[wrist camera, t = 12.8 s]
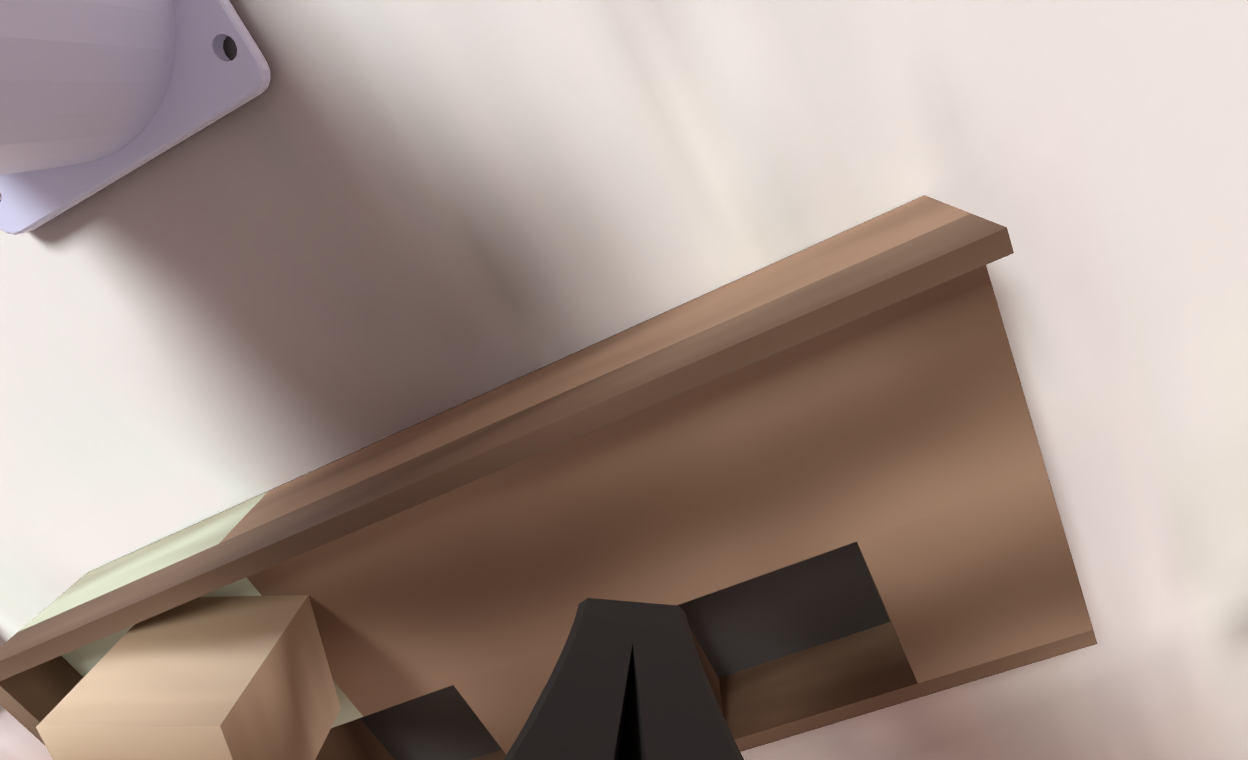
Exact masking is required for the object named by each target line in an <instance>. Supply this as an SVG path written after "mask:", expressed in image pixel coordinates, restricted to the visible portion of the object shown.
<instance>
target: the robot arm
mask: <svg viewBox="0 0 1248 760" xmlns="http://www.w3.org/2000/svg"><path fill="white" fill-rule="evenodd" d="M227 36H230V37H231V38H232V39H233V40H234V41H235V44H236V47H237V56H236V57H235V58H234V59H233V60H230V59H229V58H228V57H227V56H226V55H225V52H224V50H223V41H224V40H225V39H226V37H227ZM270 80H271V76H270V68H269V66H268V63H267V61H266V59H265V58H264V56H263V54H262V53H261V51H260V49H259V48H258V46H257V45H256V43H255V41H254V40H253V38H252V37H251V35H250V33H249V32H248V30H247V28H246V27H245V25H244V24H243V22H242V20H241V19H240V17H239V16H238V14H237V12H236V11H235V9H234V7H233V6H232V4H231V3H230V1H229V0H0V194H1V200H0V230H2V231H4V232H6V233H8V234H14V235H17V234H21V233H26V232H29V231H33V230H35V229H36V228H38V227H40V226H41V225H43V224H45V223H46V222H48V221H50V220H51V219H53V218H55V217H56V216H58V215H60V214H61V213H63V212H65V211H66V210H68V209H70V208H71V207H73V206H75V205H76V204H78V203H80V202H82V201H83V200H85V199H87V198H88V197H90V196H92V195H93V194H95V193H97V192H98V191H100V190H102V189H103V188H105V187H107V186H108V185H110V184H112V183H113V182H115V181H117V180H118V179H120V178H122V177H123V176H125V175H127V174H128V173H130V172H132V171H133V170H135V169H137V168H138V167H140V166H142V165H143V164H145V163H147V162H148V161H150V160H152V159H153V158H155V157H157V156H158V155H160V154H162V153H163V152H165V151H167V150H168V149H170V148H172V147H173V146H175V145H177V144H178V143H180V142H182V141H183V140H185V139H187V138H188V137H190V136H192V135H194V134H195V133H197V132H199V131H200V130H202V129H204V128H205V127H207V126H209V125H210V124H212V123H214V122H215V121H217V120H219V119H220V118H222V117H224V116H225V115H227V114H229V113H230V112H232V111H234V110H235V109H237V108H239V107H240V106H242V105H244V104H245V103H247V102H249V101H250V100H252V99H254V98H255V97H257V96H259V95H260V94H262V93H263V92H264V91H265V90H266V89H267V88H268V86H269V83H270ZM504 760H744V759H743V757H742V755H741V753H740V751H739V749H738V746H737V744H736V742H735V740H734V738H733V736H732V733H731V731H730V729H729V727H728V725H727V723H726V721H725V718H724V716H723V714H722V712H721V710H720V707H719V705H718V703H717V700H716V698H715V696H714V693H713V691H712V688H711V686H710V683H709V681H708V678H707V676H706V673H705V671H704V668H703V666H702V663H701V660H700V658H699V655H698V652H697V649H696V646H695V643H694V641H693V637H692V634H691V631H690V628H689V624H688V620H687V616H686V613H685V612H684V611H683V610H682V609H681V608H680V606H678V605H666V604H654V603H643V602H631V601H619V600H607V599H595V598H587V599H585V600H584V601H582V602H581V603H579V605H578V609H577V612H576V616H575V619H574V622H573V625H572V628H571V630H570V633H569V636H568V638H567V641H566V643H565V645H564V648H563V650H562V652H561V654H560V657H559V659H558V661H557V663H556V665H555V667H554V669H553V671H552V674H551V676H550V678H549V680H548V682H547V684H546V685H545V687H544V689H543V691H542V693H541V695H540V697H539V698H538V700H537V702H536V704H535V706H534V708H533V710H532V712H531V713H530V715H529V717H528V719H527V721H526V723H525V725H524V726H523V728H522V730H521V732H520V733H519V735H518V737H517V739H516V740H515V742H514V743H513V745H512V747H511V748H510V750H509V752H508V753H507V755H506V756H505V758H504Z"/></svg>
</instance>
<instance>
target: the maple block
mask: <svg viewBox="0 0 1248 760" xmlns="http://www.w3.org/2000/svg"><path fill="white" fill-rule="evenodd" d="M340 709H341V706H340V703H339V699H338V696H337V693H336V689H335V686H334V682H333V679H332V675H331V672H330V668H329V665H328V661H327V658H326V654H325V651H324V647H323V644H322V640H321V637H320V633H319V630H318V626H317V623H316V619H315V616H314V613H313V609H312V606H311V602H310V599H309V595H281V596H224V597H198V598H196V599H194V600H191V601H189V602H186V603H184V604H182V605H179V606H177V607H175V608H172V609H170V610H168V611H165V612H163V613H160V614H158V615H156V616H153V617H151V618H149V619H146V620H144V621H142V622H139V623H137V624H135V625H134V626H133V627H132V628H131V629H130V630H129V631H128V632H127V633H126V634H125V635H124V636H123V637H122V638H121V639H120V640H119V641H118V642H117V643H116V644H115V645H114V647H113V648H112V649H111V650H110V651H109V652H108V653H107V654H106V655H105V656H104V657H103V658H102V659H101V660H100V661H99V662H98V663H97V664H96V665H95V666H94V667H93V668H92V669H91V670H90V671H89V672H88V674H87V675H86V676H85V677H84V678H83V679H82V680H81V681H80V682H79V683H78V684H77V685H76V686H75V687H74V688H73V689H72V690H71V691H70V692H69V693H68V694H67V695H66V696H65V697H64V698H63V699H62V700H61V702H60V703H59V704H58V705H57V706H56V707H55V708H54V709H53V710H52V711H51V712H50V713H49V714H48V715H47V716H46V717H45V718H44V719H43V720H42V721H41V722H40V723H39V724H38V725H37V726H36V729H37V730H38V732H39V734H40V736H41V738H42V740H43V742H44V744H45V746H46V747H47V749H48V751H49V753H50V755H51V757H52V759H53V760H315V759H316V757H317V755H318V753H319V751H320V749H321V747H322V745H323V743H324V741H325V739H326V737H327V735H328V733H329V731H330V729H331V727H332V725H333V723H334V721H335V719H336V717H337V715H338V713H339V711H340Z"/></svg>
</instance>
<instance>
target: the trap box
mask: <svg viewBox="0 0 1248 760" xmlns="http://www.w3.org/2000/svg"><path fill="white" fill-rule="evenodd" d="M1012 253H1014V252H1013V248H1012V245H1011V241H1010V238H1009V234H1008V230H1007V228H1006V227H1004V226H1001V225H999V224H996V223H994V222H991V221H989V220H986V219H983V218H981V217H978V216H976V215H973V214H971V213H968V212H966V211H963V210H961V209H958V208H955V207H953V206H950V205H948V204H945V203H943V202H940V201H938V200H935V199H933V198H930V197H927V196H925V195H924V196H922V197H920V198H917V199H915V200H913V201H911V202H909V203H906V204H904V205H902V206H900V207H897V208H895V209H893V210H891V211H889V212H886V213H884V214H882V215H880V216H878V217H875V218H873V219H871V220H869V221H866V222H864V223H862V224H860V225H858V226H855V227H853V228H851V229H849V230H846V231H844V232H842V233H840V234H838V235H835V236H833V237H831V238H829V239H826V240H824V241H822V242H820V243H818V244H815V245H813V246H811V247H809V248H807V249H804V250H802V251H800V252H798V253H795V254H793V255H791V256H789V257H787V258H784V259H782V260H780V261H778V262H775V263H773V264H771V265H769V266H767V267H764V268H762V269H760V270H758V271H755V272H753V273H751V274H749V275H747V276H744V277H742V278H740V279H738V280H736V281H733V282H731V283H729V284H727V285H724V286H722V287H720V288H718V289H716V290H713V291H711V292H709V293H707V294H704V295H702V296H700V297H698V298H696V299H693V300H691V301H689V302H687V303H685V304H682V305H680V306H678V307H676V308H673V309H671V310H669V311H667V312H665V313H662V314H660V315H658V316H656V317H653V318H651V319H649V320H647V321H645V322H642V323H640V324H638V325H636V326H633V327H631V328H629V329H627V330H625V331H622V332H620V333H618V334H616V335H614V336H611V337H609V338H607V339H605V340H602V341H600V342H598V343H596V344H594V345H591V346H589V347H587V348H585V349H582V350H580V351H578V352H576V353H574V354H571V355H569V356H567V357H565V358H562V359H560V360H558V361H556V362H554V363H551V364H549V365H547V366H545V367H543V368H540V369H538V370H536V371H534V372H531V373H529V374H527V375H525V376H523V377H520V378H518V379H516V380H514V381H511V382H509V383H507V384H505V385H503V386H500V387H498V388H496V389H494V390H491V391H489V392H487V393H485V394H483V395H480V396H478V397H476V398H474V399H472V400H469V401H467V402H465V403H463V404H460V405H458V406H456V407H454V408H452V409H449V410H447V411H445V412H443V413H440V414H438V415H436V416H434V417H432V418H429V419H427V420H425V421H423V422H420V423H418V424H416V425H414V426H412V427H409V428H407V429H405V430H403V431H401V432H398V433H396V434H394V435H392V436H389V437H387V438H385V439H383V440H381V441H378V442H376V443H374V444H372V445H369V446H367V447H365V448H363V449H361V450H358V451H356V452H354V453H352V454H349V455H347V456H345V457H343V458H341V459H338V460H336V461H334V462H332V463H330V464H327V465H325V466H323V467H321V468H318V469H316V470H314V471H312V472H310V473H307V474H305V475H303V476H301V477H298V478H296V479H294V480H292V481H290V482H287V483H285V484H283V485H281V486H279V487H276V488H274V489H272V490H270V491H267V492H265V493H263V494H261V495H259V496H256V497H254V498H252V499H250V500H247V501H245V502H243V503H241V504H239V505H236V506H234V507H232V508H230V509H227V510H225V511H223V512H221V513H219V514H216V515H214V516H212V517H210V518H208V519H205V520H203V521H201V522H199V523H196V524H194V525H192V526H190V527H188V528H185V529H183V530H181V531H179V532H176V533H174V534H172V535H170V536H168V537H165V538H163V539H161V540H159V541H156V542H154V543H152V544H150V545H148V546H145V547H143V548H141V549H139V550H137V551H134V552H132V553H130V554H128V555H125V556H123V557H121V558H119V559H117V560H114V561H112V562H110V563H108V564H105V565H103V566H101V567H99V568H97V569H94V570H92V571H90V572H88V573H86V574H85V575H84V576H83V577H82V578H80V579H79V580H78V581H77V582H76V583H75V584H73V585H72V586H71V587H70V588H69V589H68V590H67V591H65V592H64V593H63V594H62V595H61V596H60V597H58V598H57V599H56V600H55V601H54V602H53V603H51V604H50V605H49V606H48V607H47V608H46V609H44V610H43V611H42V612H41V613H40V614H39V615H37V616H36V617H35V618H34V619H33V620H32V621H30V622H29V623H28V624H27V625H26V626H25V627H23V628H22V629H21V630H20V631H19V632H18V633H16V634H15V635H14V636H13V637H12V638H11V639H9V640H8V641H7V642H6V643H5V644H4V645H2V646H1V647H0V705H1V706H3V707H4V708H5V709H6V710H7V711H8V712H9V713H10V714H11V715H12V716H13V717H15V718H16V719H17V720H18V721H19V722H20V723H21V724H22V725H23V726H24V727H26V728H27V729H28V730H29V731H30V732H31V733H32V734H33V735H34V736H35V737H36V738H38V739H39V740H40V741H41V742H42V743H43V744H44V742H43V740H42V738H41V736H40V734H39V732H38V730H37V729H36V726H37V725H38V724H39V723H40V722H41V721H42V720H43V719H44V718H45V717H46V716H47V715H48V714H49V713H50V712H51V711H52V710H53V709H54V708H55V707H56V706H57V705H58V704H59V703H60V702H61V700H62V699H63V698H64V697H65V696H66V695H67V694H68V693H69V692H70V691H71V690H72V689H73V688H74V687H75V686H76V685H77V684H78V683H79V682H80V681H81V680H82V679H83V678H84V677H85V676H86V675H87V674H88V672H89V671H90V670H91V669H92V668H93V667H94V666H95V665H96V664H97V663H98V662H99V661H100V660H101V659H102V658H103V657H104V656H105V655H106V654H107V653H108V652H109V651H110V650H111V649H112V648H113V647H114V645H115V644H116V643H117V642H118V641H119V640H120V639H121V638H122V637H123V636H124V635H125V634H126V633H127V632H128V631H129V630H130V629H131V628H132V627H133V626H134V625H135V624H137V623H139V622H142V621H144V620H146V619H149V618H151V617H153V616H156V615H158V614H160V613H163V612H165V611H168V610H170V609H172V608H175V607H177V606H179V605H182V604H184V603H186V602H189V601H191V600H194V599H196V598H198V597H224V596H281V595H309V599H310V602H311V606H312V609H313V613H314V616H315V619H316V623H317V626H318V630H319V633H320V637H321V640H322V644H323V647H324V651H325V654H326V658H327V661H328V665H329V668H330V672H331V675H332V679H333V682H334V686H335V689H336V693H337V696H338V699H339V703H340V706H341V709H340V711H339V713H338V715H337V717H336V719H335V721H334V723H333V725H332V727H331V729H330V731H329V733H328V735H327V737H326V739H325V741H324V743H323V745H322V747H321V749H320V751H319V753H318V755H317V757H316V759H315V760H504V758H505V756H506V755H507V753H508V752H509V750H510V748H511V747H512V745H513V743H514V742H515V740H516V739H517V737H518V735H519V733H520V732H521V730H522V728H523V726H524V725H525V723H526V721H527V719H528V717H529V715H530V713H531V712H532V710H533V708H534V706H535V704H536V702H537V700H538V698H539V697H540V695H541V693H542V691H543V689H544V687H545V685H546V684H547V682H548V680H549V678H550V676H551V674H552V671H553V669H554V667H555V665H556V663H557V661H558V659H559V657H560V654H561V652H562V650H563V648H564V645H565V643H566V641H567V638H568V636H569V633H570V630H571V628H572V625H573V622H574V619H575V616H576V612H577V609H578V605H579V603H581V602H582V601H584V600H585V599H587V598H595V599H607V600H619V601H631V602H643V603H654V604H666V605H678V606H680V608H681V609H682V610H683V611H684V612H685V613H686V616H687V620H688V624H689V628H690V631H691V634H692V637H693V641H694V643H695V646H696V649H697V652H698V655H699V658H700V660H701V663H702V666H703V668H704V671H705V673H706V676H707V678H708V681H709V683H710V686H711V688H712V691H713V693H714V696H715V698H716V700H717V703H718V705H719V707H720V710H721V712H722V714H723V716H724V718H725V721H726V723H727V725H728V727H729V729H730V731H731V733H732V736H733V738H734V740H735V742H736V744H737V746H738V749H739V751H740V752H741V751H744V750H747V749H751V748H754V747H757V746H761V745H764V744H767V743H771V742H774V741H777V740H780V739H784V738H787V737H790V736H794V735H797V734H800V733H804V732H807V731H810V730H814V729H817V728H820V727H823V726H827V725H830V724H833V723H837V722H840V721H843V720H847V719H850V718H853V717H857V716H860V715H863V714H866V713H870V712H873V711H876V710H880V709H883V708H886V707H890V706H893V705H896V704H899V703H903V702H906V701H909V700H913V699H916V698H919V697H923V696H926V695H929V694H933V693H936V692H939V691H942V690H946V689H949V688H952V687H956V686H959V685H962V684H966V683H969V682H972V681H975V680H979V679H982V678H985V677H989V676H992V675H995V674H999V673H1002V672H1005V671H1009V670H1012V669H1015V668H1018V667H1022V666H1025V665H1028V664H1032V663H1035V662H1038V661H1042V660H1045V659H1048V658H1052V657H1055V656H1058V655H1061V654H1065V653H1068V652H1071V651H1075V650H1078V649H1081V648H1085V647H1088V646H1091V645H1094V644H1097V641H1096V638H1095V634H1094V631H1093V628H1092V624H1091V621H1090V617H1089V614H1088V611H1087V607H1086V604H1085V600H1084V597H1083V594H1082V590H1081V587H1080V583H1079V580H1078V577H1077V573H1076V570H1075V566H1074V563H1073V560H1072V556H1071V553H1070V549H1069V546H1068V543H1067V539H1066V536H1065V532H1064V529H1063V526H1062V522H1061V519H1060V515H1059V512H1058V509H1057V505H1056V502H1055V498H1054V495H1053V492H1052V488H1051V485H1050V481H1049V478H1048V475H1047V471H1046V468H1045V464H1044V461H1043V458H1042V454H1041V451H1040V447H1039V444H1038V441H1037V437H1036V434H1035V430H1034V427H1033V424H1032V420H1031V417H1030V413H1029V410H1028V407H1027V403H1026V400H1025V396H1024V393H1023V390H1022V386H1021V383H1020V379H1019V376H1018V373H1017V369H1016V366H1015V362H1014V359H1013V356H1012V352H1011V349H1010V345H1009V342H1008V339H1007V335H1006V332H1005V328H1004V325H1003V322H1002V318H1001V315H1000V311H999V308H998V305H997V301H996V298H995V295H994V291H993V288H992V284H991V281H990V278H989V274H988V271H987V267H986V264H989V263H991V262H994V261H996V260H998V259H1001V258H1003V257H1005V256H1008V255H1010V254H1012ZM44 745H45V744H44Z"/></svg>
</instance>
